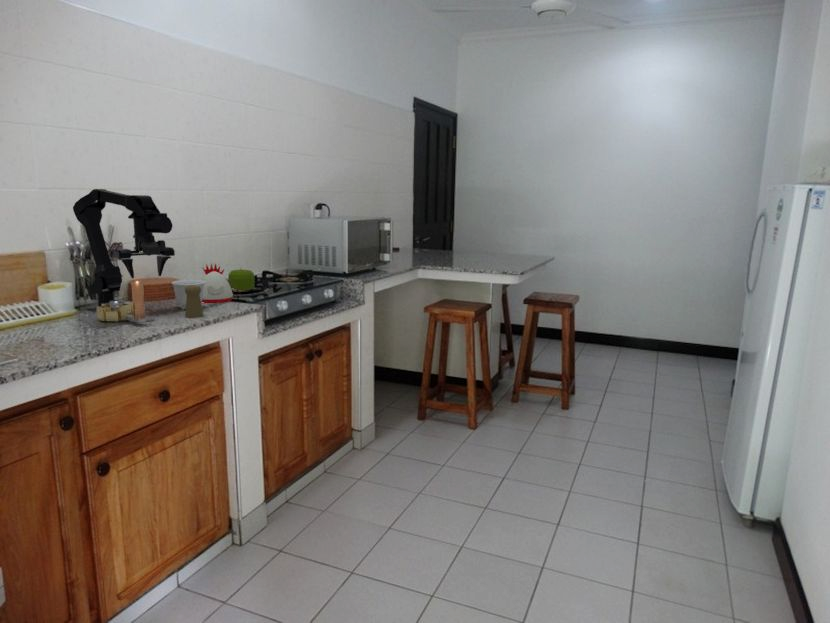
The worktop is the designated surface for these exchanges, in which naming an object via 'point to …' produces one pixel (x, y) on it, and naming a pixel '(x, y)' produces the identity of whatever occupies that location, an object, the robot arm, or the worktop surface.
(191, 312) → the pepper mill
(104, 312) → the copper cylinder with bracket
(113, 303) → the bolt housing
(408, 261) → the worktop surface
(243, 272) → the apple
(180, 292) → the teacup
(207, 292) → the kitchen timer
